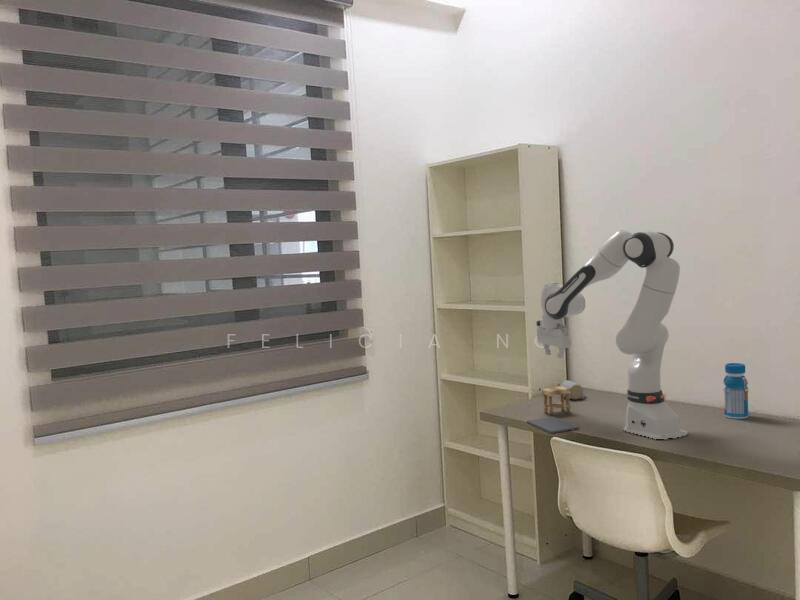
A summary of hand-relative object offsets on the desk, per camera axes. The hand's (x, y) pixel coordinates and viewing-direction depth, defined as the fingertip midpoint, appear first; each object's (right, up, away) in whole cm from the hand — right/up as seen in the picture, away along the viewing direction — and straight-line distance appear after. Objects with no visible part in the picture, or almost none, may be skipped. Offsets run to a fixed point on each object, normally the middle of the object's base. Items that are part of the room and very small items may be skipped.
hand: (554, 356), depth 264 cm
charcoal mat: (-5, -25, -17) cm, 31 cm away
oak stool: (+2, -24, +2) cm, 24 cm away
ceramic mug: (+15, -21, +26) cm, 37 cm away
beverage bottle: (+64, -21, -20) cm, 71 cm away
